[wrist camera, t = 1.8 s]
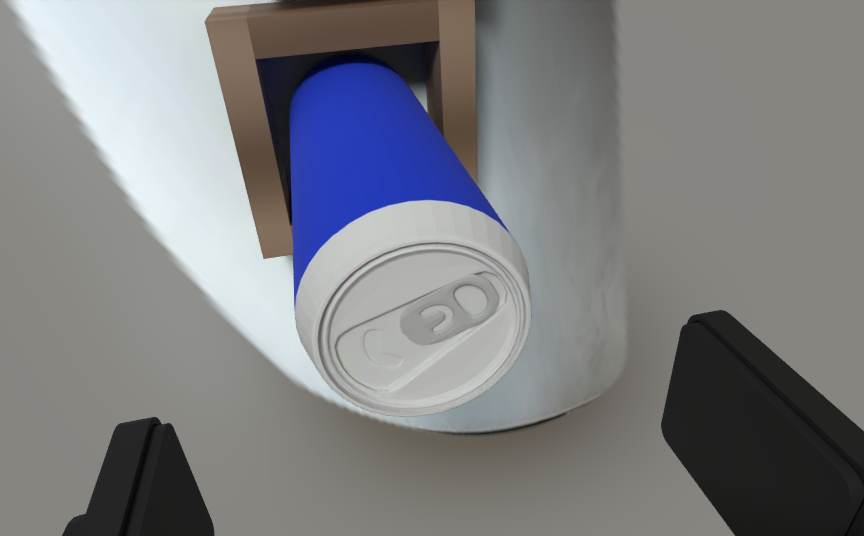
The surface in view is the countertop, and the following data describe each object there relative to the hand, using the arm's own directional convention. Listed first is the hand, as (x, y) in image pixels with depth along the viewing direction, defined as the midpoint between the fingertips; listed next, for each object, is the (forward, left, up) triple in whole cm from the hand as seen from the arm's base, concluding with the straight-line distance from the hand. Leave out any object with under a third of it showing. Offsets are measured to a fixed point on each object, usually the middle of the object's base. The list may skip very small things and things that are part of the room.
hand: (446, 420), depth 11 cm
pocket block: (-1, 0, -17) cm, 17 cm away
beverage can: (-1, 0, -17) cm, 17 cm away
